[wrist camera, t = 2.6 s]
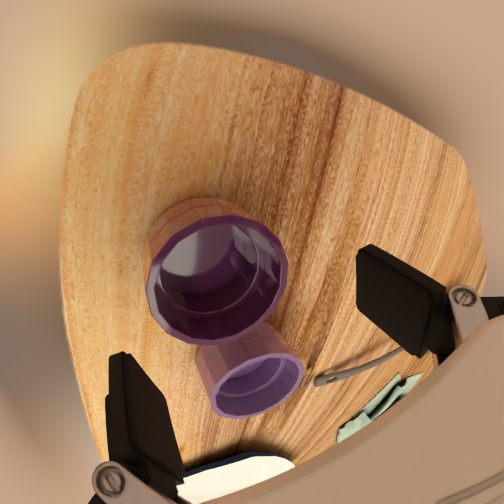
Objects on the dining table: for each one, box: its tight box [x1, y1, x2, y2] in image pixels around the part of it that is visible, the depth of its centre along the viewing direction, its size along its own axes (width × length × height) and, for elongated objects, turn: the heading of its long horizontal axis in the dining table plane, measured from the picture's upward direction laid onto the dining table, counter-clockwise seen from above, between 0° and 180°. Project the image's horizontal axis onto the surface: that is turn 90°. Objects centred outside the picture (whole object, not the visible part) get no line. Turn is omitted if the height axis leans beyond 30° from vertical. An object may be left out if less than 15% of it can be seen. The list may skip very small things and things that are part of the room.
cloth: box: [336, 372, 423, 443], centre depth 41 cm, size 20×22×2 cm
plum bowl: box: [142, 197, 288, 346], centre depth 14 cm, size 7×7×4 cm
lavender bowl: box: [195, 322, 304, 419], centre depth 18 cm, size 7×7×4 cm
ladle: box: [314, 346, 405, 387], centre depth 30 cm, size 6×28×5 cm, turn 93°
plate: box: [176, 451, 296, 504], centre depth 29 cm, size 20×20×3 cm
